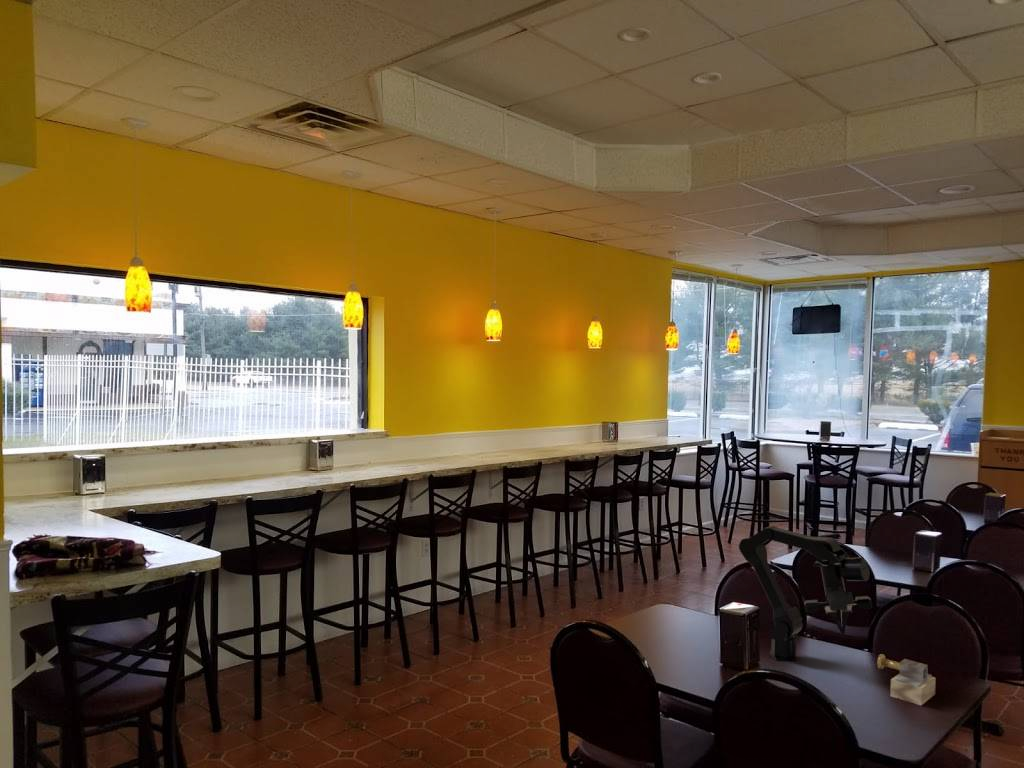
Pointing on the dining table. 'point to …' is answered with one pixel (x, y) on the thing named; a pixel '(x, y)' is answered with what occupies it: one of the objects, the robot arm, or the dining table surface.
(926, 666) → the hinge block
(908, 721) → the dining table surface
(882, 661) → the pin
